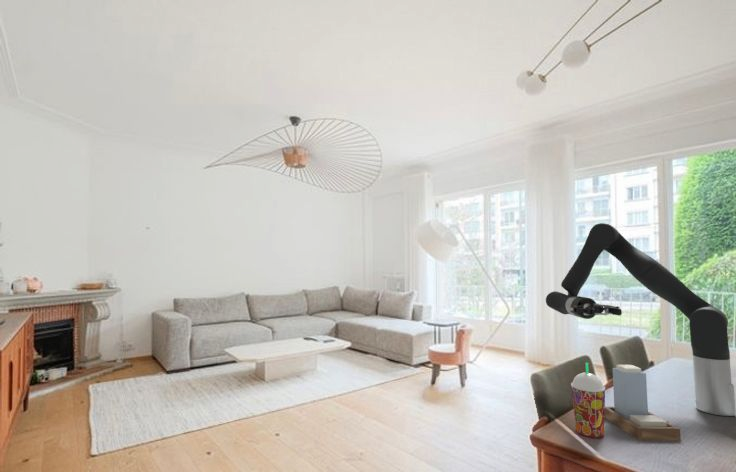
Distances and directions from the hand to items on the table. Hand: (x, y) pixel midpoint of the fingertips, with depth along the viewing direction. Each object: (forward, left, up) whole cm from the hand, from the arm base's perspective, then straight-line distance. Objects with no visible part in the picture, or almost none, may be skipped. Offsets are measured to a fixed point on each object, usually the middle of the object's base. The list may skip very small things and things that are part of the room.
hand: (606, 312), depth 127 cm
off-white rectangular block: (-9, +15, -31) cm, 35 cm away
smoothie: (+5, +23, -32) cm, 40 cm away
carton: (-5, +9, -31) cm, 33 cm away
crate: (-7, +12, -32) cm, 35 cm away
